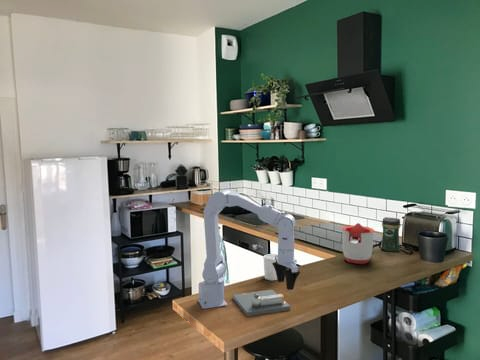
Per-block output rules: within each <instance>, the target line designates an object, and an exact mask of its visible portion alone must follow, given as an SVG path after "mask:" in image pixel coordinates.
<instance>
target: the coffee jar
mask: <svg viewBox="0 0 480 360" xmlns="http://www.w3.org/2000/svg"><path fill="white" fill-rule="evenodd" d="M400 219H401V218H395V217H387V216H385V217H383V219H382V222H381V227H382V238H381V246H380V248H381V250H382V249H383V250H382V251H386V250H387V252H393V251H394V252H399V251H400V236H399V235H400V228H401V220H400ZM394 252H393V253H394Z"/></svg>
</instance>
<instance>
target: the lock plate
mask: <svg viewBox="0 0 480 360" xmlns="http://www.w3.org/2000/svg"><path fill="white" fill-rule="evenodd" d="M277 294H278V293H277V292H276V291H275V290H273V289H266V290H259V291H251V292H245V293H243V292H242V293H235V294H232V299H233V301H234V302H235V303H236V305H237V306H238V308H240V310H241V311H242V312H243V314H244V315H245V316H246V317H252V316H259V315H264V314H265V315H266V314H272V313H278V312H285V311H290V310H291V305H290V304H289V303H288V302H287V301H285V300H284V303H279V304H272V305H265V306H261V307H260V308H254V307H252V296H254V297H255V298H258V297H259V296H261V297H262V296H269V295H277Z"/></svg>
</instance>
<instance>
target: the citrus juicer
mask: <svg viewBox="0 0 480 360" xmlns="http://www.w3.org/2000/svg"><path fill="white" fill-rule="evenodd" d="M341 229H342V239H341V240H342V245H341V246H342V253H343V257H344V259H345V261H347V263H352V264H358V265H359V264H360V265H364V264H367V263H368V264H369V262H370V260H371V256H372V254H373V247H374V232H375V229H374V228H372V227H369V226H364V225H363V226H362V225H361V223H359V222H357V223H356V224H355V225H346V226H342V228H341Z"/></svg>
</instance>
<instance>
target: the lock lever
mask: <svg viewBox="0 0 480 360" xmlns="http://www.w3.org/2000/svg"><path fill="white" fill-rule="evenodd" d="M284 301H285V296H284V295H283V294H282V293H277V295H269V296H262V297H261V296H259V297H258V298H255V297H254V296H252V307H254V308H260V307H261V306H265V305H272V304H279V303H284Z"/></svg>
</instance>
